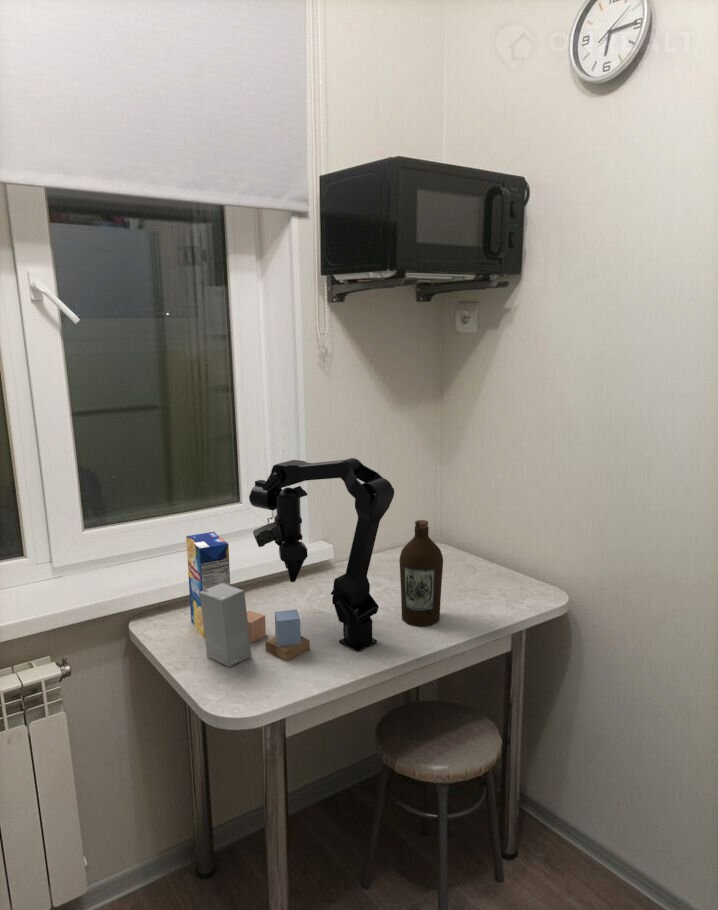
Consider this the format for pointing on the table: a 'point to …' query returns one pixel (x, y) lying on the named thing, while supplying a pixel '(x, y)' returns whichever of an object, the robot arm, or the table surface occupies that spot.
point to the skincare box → (225, 624)
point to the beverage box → (205, 569)
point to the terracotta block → (256, 625)
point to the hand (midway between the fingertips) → (290, 574)
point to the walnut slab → (287, 649)
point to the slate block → (287, 627)
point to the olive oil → (421, 578)
